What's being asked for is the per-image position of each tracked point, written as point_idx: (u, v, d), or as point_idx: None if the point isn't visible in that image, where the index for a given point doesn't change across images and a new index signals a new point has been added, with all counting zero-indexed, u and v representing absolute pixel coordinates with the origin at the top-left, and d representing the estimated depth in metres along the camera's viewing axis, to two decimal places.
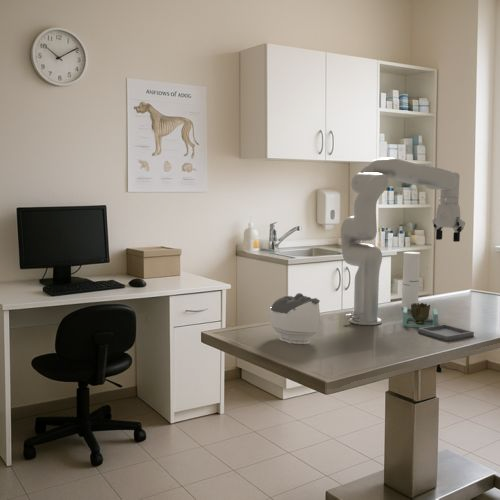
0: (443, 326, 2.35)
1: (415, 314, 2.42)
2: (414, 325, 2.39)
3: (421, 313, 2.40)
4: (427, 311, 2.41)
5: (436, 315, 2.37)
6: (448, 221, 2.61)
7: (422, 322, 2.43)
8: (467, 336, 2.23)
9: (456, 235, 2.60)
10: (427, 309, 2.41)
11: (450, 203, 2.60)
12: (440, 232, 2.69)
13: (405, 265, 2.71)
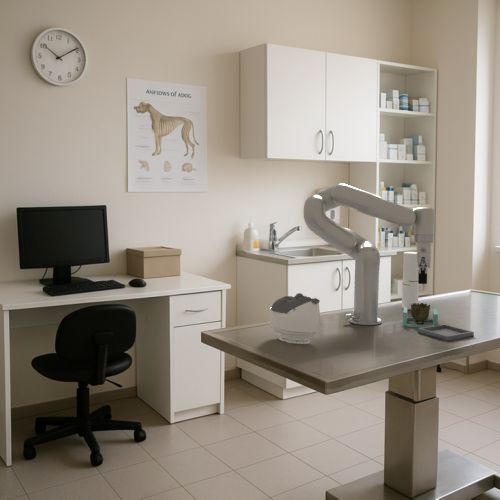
0: (443, 326, 2.35)
1: (415, 314, 2.42)
2: (414, 325, 2.39)
3: (421, 313, 2.40)
4: (427, 311, 2.41)
5: (436, 315, 2.37)
6: None
7: (422, 322, 2.43)
8: (467, 336, 2.23)
9: None
10: (427, 309, 2.41)
11: None
12: None
13: (405, 265, 2.71)
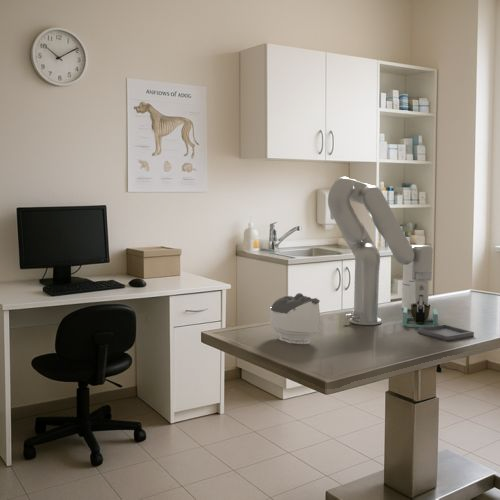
0: (443, 326, 2.35)
1: (415, 314, 2.42)
2: (414, 325, 2.39)
3: None
4: (427, 311, 2.41)
5: (436, 315, 2.37)
6: None
7: None
8: (467, 336, 2.23)
9: None
10: (427, 309, 2.41)
11: None
12: None
13: (405, 265, 2.71)
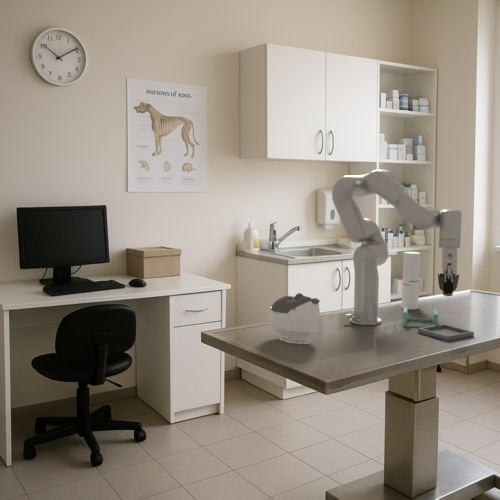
0: (443, 326, 2.35)
1: (443, 284, 2.23)
2: (414, 325, 2.39)
3: None
4: (456, 281, 2.22)
5: (436, 315, 2.37)
6: None
7: (450, 293, 2.24)
8: (467, 336, 2.23)
9: None
10: (456, 279, 2.22)
11: None
12: None
13: (405, 265, 2.71)
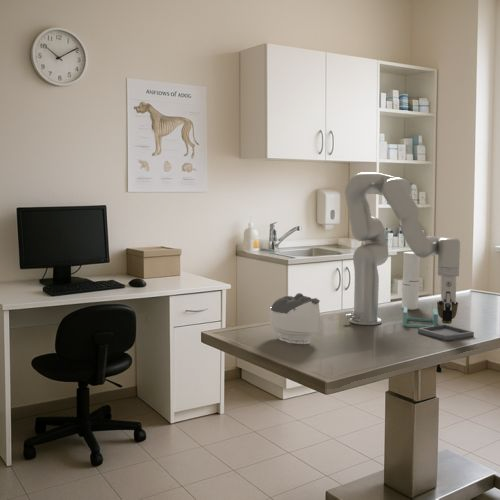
0: (443, 326, 2.35)
1: (442, 312, 2.24)
2: (414, 325, 2.39)
3: None
4: (455, 309, 2.24)
5: (436, 315, 2.37)
6: None
7: (449, 321, 2.25)
8: (467, 336, 2.23)
9: None
10: (455, 307, 2.23)
11: None
12: None
13: (405, 265, 2.71)
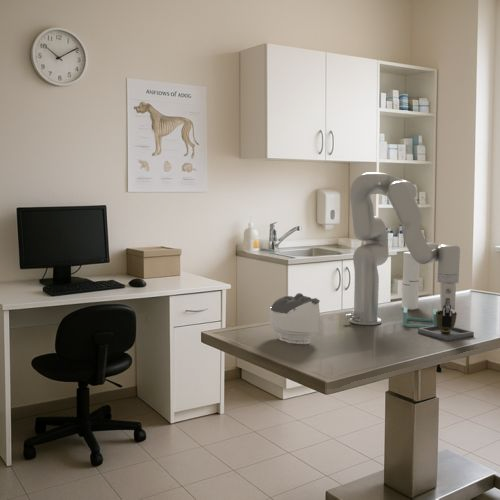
0: None
1: (441, 322, 2.25)
2: (414, 325, 2.39)
3: None
4: (453, 319, 2.24)
5: None
6: None
7: (448, 331, 2.26)
8: (467, 336, 2.23)
9: None
10: (454, 317, 2.24)
11: None
12: None
13: (405, 265, 2.71)
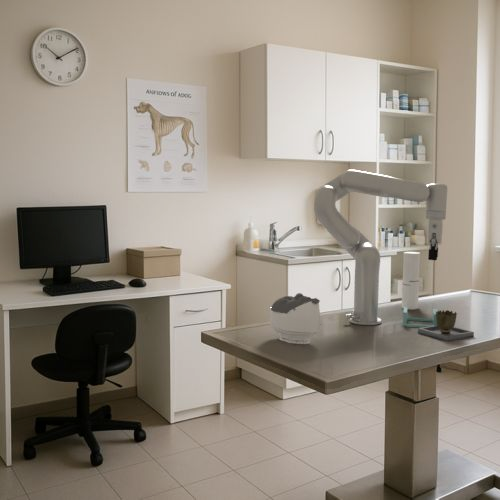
0: None
1: (441, 322, 2.25)
2: (414, 325, 2.39)
3: (447, 321, 2.24)
4: (453, 319, 2.24)
5: None
6: None
7: (448, 331, 2.26)
8: (467, 336, 2.23)
9: None
10: (454, 317, 2.24)
11: None
12: None
13: (405, 265, 2.71)
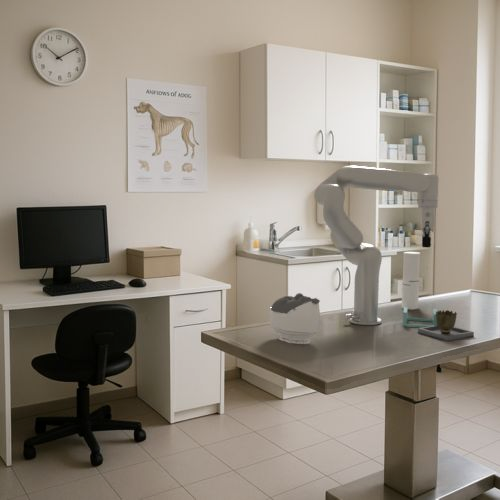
0: None
1: (441, 322, 2.25)
2: (414, 325, 2.39)
3: (447, 321, 2.24)
4: (453, 319, 2.24)
5: None
6: None
7: (448, 331, 2.26)
8: (467, 336, 2.23)
9: None
10: (454, 317, 2.24)
11: None
12: None
13: (405, 265, 2.71)
